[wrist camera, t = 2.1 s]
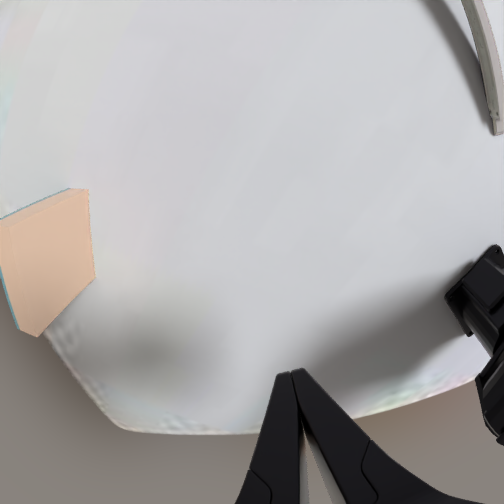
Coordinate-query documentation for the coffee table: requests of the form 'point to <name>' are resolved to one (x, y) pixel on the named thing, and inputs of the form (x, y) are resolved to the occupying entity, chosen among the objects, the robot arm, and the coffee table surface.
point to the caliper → (487, 61)
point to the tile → (46, 257)
